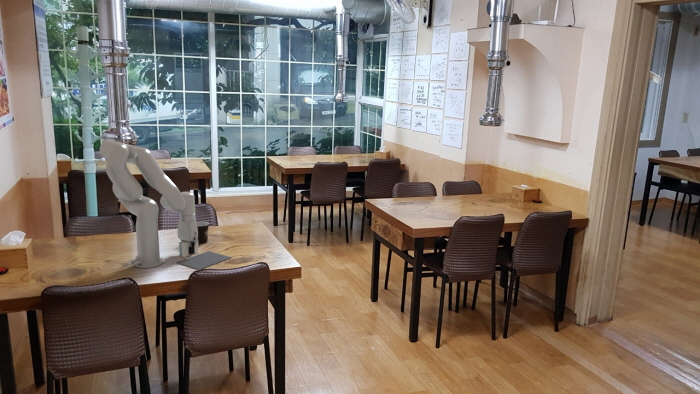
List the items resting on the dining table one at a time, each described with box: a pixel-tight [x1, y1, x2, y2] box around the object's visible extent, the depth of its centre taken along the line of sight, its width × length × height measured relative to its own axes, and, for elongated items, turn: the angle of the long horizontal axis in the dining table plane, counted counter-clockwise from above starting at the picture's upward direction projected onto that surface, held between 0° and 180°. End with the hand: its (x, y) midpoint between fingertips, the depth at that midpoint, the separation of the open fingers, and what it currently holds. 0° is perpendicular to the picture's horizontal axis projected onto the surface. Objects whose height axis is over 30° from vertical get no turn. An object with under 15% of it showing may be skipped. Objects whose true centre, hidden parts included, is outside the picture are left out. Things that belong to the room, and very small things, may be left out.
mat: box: [175, 250, 232, 271], centre depth 249 cm, size 20×16×1 cm
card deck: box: [178, 241, 199, 258], centre depth 257 cm, size 9×3×7 cm, turn 147°
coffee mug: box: [196, 221, 210, 245], centre depth 277 cm, size 12×9×10 cm
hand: (189, 252), depth 258 cm, fingers closed on card deck, 3 cm apart
